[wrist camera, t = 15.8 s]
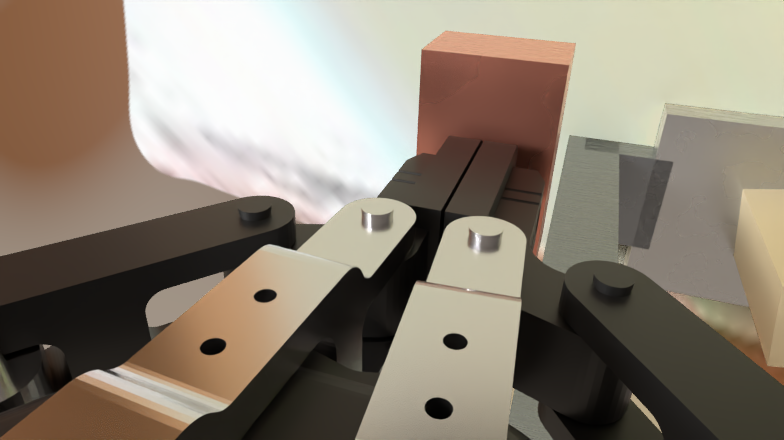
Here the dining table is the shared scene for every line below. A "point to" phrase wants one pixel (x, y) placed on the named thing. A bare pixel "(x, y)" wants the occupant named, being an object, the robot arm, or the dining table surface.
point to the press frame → (662, 207)
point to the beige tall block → (763, 266)
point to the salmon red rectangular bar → (496, 97)
